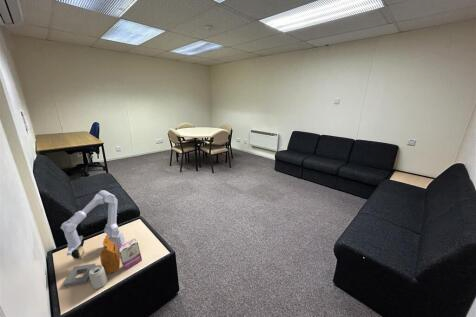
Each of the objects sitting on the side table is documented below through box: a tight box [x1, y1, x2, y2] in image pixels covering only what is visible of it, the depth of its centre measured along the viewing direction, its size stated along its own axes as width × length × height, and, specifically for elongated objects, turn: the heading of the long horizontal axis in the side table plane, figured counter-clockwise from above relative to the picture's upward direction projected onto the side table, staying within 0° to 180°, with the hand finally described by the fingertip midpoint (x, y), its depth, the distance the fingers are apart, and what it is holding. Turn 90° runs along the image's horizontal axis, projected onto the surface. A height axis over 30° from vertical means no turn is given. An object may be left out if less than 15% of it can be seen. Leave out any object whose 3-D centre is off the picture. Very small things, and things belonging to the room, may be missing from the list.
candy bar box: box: [117, 238, 143, 271], centre depth 132 cm, size 11×5×16 cm, turn 137°
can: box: [89, 264, 108, 290], centre depth 119 cm, size 8×8×12 cm
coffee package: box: [99, 234, 121, 275], centre depth 129 cm, size 10×12×22 cm
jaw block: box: [71, 245, 86, 261], centre depth 130 cm, size 4×4×7 cm
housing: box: [63, 263, 96, 288], centre depth 126 cm, size 12×12×2 cm
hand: (78, 254), depth 130 cm, fingers closed on jaw block, 4 cm apart
